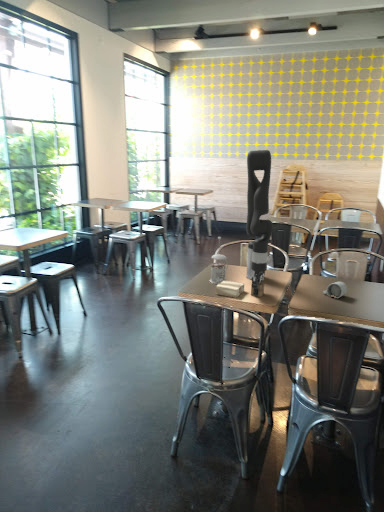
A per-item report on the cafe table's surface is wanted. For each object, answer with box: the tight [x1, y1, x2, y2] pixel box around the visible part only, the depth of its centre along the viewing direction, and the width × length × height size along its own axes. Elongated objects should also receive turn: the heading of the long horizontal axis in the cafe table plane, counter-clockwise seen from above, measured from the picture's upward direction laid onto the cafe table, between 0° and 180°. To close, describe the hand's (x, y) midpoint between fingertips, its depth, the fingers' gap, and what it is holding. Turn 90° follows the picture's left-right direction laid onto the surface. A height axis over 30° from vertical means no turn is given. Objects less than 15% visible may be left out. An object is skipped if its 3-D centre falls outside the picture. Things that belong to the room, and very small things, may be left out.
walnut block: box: [250, 281, 265, 298], centre depth 189 cm, size 5×5×6 cm
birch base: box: [215, 279, 245, 298], centre depth 192 cm, size 11×11×4 cm
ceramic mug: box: [322, 281, 348, 299], centre depth 189 cm, size 11×8×8 cm
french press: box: [208, 236, 229, 285], centre depth 206 cm, size 10×12×25 cm
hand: (257, 293), depth 190 cm, fingers closed on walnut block, 5 cm apart
